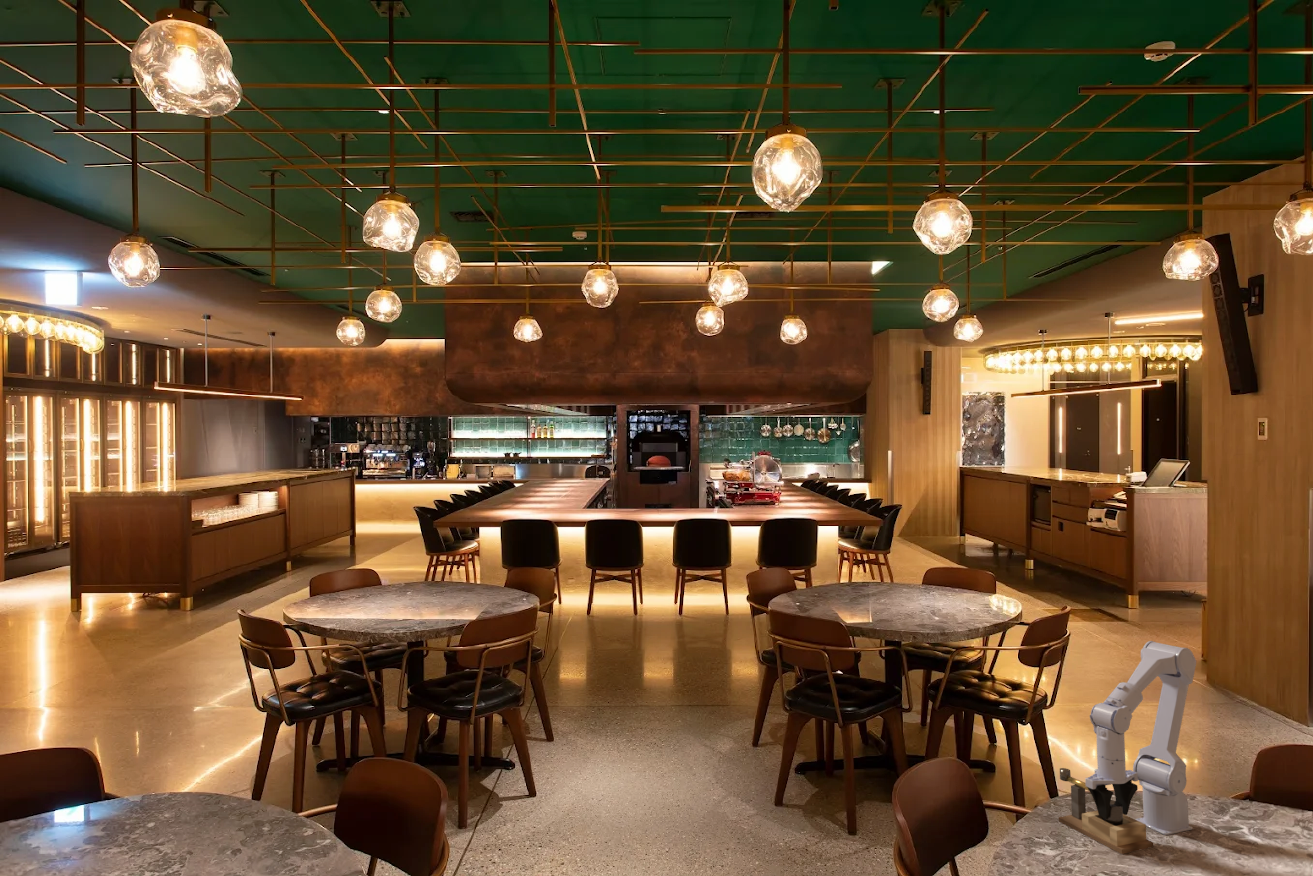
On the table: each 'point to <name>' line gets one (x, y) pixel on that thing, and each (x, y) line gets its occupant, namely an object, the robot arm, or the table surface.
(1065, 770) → the lock bolt
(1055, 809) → the table surface
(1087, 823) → the dock
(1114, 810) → the black rounded block
